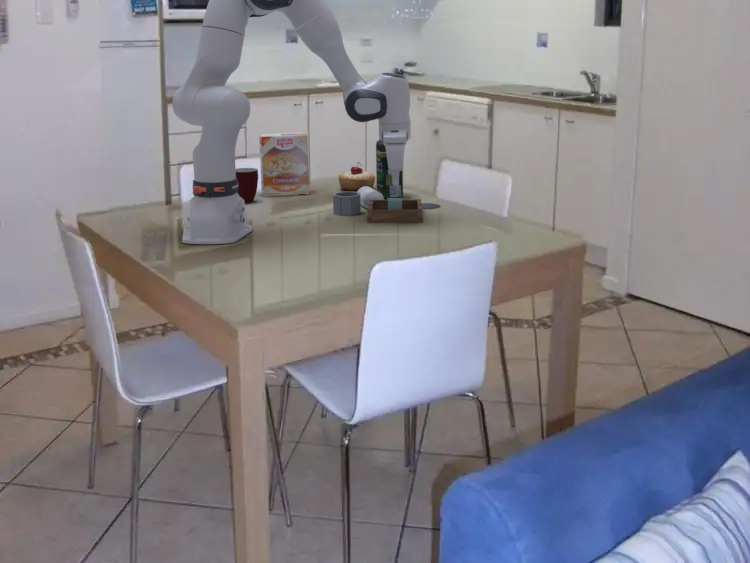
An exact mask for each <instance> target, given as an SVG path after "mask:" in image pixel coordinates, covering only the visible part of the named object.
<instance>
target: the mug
mask: <svg viewBox="0 0 750 563" xmlns="http://www.w3.org/2000/svg"><path fill="white" fill-rule="evenodd" d="M235 169H236V178H237V179H238V192H237V193H238V194H239V196H240V197H241V198H242V199H243V200H244V202H245V204H249V203H252V202H254V200H255V198H256V195H257V191H258V184H259V183H258V182H259V171H258V170H259V169H258V168H255V167H240V168H239V167H238V168H235Z"/></svg>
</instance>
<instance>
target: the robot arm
mask: <svg viewBox="0 0 750 563" xmlns="http://www.w3.org/2000/svg"><path fill="white" fill-rule="evenodd" d="M275 11H276V12H281V13H282V14H283V15H285V16H286V17H287V19H288V20H289V21H290V23H291V25H292V27H293V29H294V30H295V32H296V34H297V36H298V37H299V38H300V40H301V41H302V42H303V44H304V45H305V46H306V47H307V48H308V50H309V51H311V52H312V54H314V55H316V56H317V57H318V58H320V59H321V60H322V61H324V63H325V64H326V66H327V67H328V68H329V70H330V72H331V74H332V75H333V77H334V78H335V80H336V81H337V84H338V85H339V86H340V89H341V92H342V96H343V105H344V109H345V112H346V114H347V116H348V117H349V118H351V119H352V120H353V121H355V122H358V123H368V122H370V121H375V120H378V140H382V141H383V143H384V145H385V147H386V154H387V162H388V168H389V171H392V184H393V185H399V171H402V172H403V165H404V155H405V146H407V142H408V141H409V140H411V138H412V137H411V136H412V135H411V132H412V131H411V127H412V126H411V116H410V108H411V93H410V92H411V91H410V86H409V81H408V80H407V78H406V77H404V76H403V75H401V74H397V73H393V72H392V73H391V72H383V73H382V72H381V73H380V75H379V76H376V77H375V78H374V79H371V80H370V81H369V82H366V80H364V79H363V78H362V76H361V75H360V74H359V72H358V71H357V68H356V67H355V65H354V64H353V62H352V60H351V59H350V57H349V55H348V53H347V51H346V48H345V46H344V41H343V35H342V32H341V28H340V25H339V24H338V20H337V18H336V16H335V15H334V12H333V11H332V8H331V7H330V5H329V4H328V2H327V0H208V3H207V6H206V9H205V13H204V16H203V21H202V26H201V32H200V36H199V42H198V48H197V53H196V55H195V56H196V57H195V60H194V63H193V66H192V68H191V69H190V71H189V74H188V75H187V78H186V80H185V81H184V83H183V84H182V85H181V86H180V87H179V88H178V89H177V90H176V91H175V93H173V94H174V95H173V97H172V103H171V106H172V110H173V112H174V114H175V116H176V117H177V118H178V119H179V120H181V121H183V122H185V123H187V124H190V125H192V126H197V127H201V136H200V139H199V142H198V144H197V145H196V146H194V148H193V150H192V165H193V178H194V179H193V180H192V195H193V197H191V199H190V200H189V203H190V205H189V206H190V207H189V208H190V209H189V216H187V222H189V225H186V226H184V227H183V232H182V239H181V240H182V241H181V242H182V243H183V244H192V245H221V244H222V245H223V244H225V245H226V244H231V243H235V242H238V241H239V240H241V239H242V238H244V237H245V236H246V235H248V234H249V233H252V232H253V230H254V227H253V225H249V224H247V213H246V203H245V202H244V200H243V199H242V198H241V197H240V196H239V194H238V193H237V192H238V179H237V178H236V169H237V168H236V145H237V141H238V137H239V133H240V131H241V129H242V127H243V126H244V124H245V123H246V122H247V121H248V119H249V118H250V114H251V102H250V100H249V98H248V97H247V95H246V94H245V93H244V92H242V91H241V90H239V89H236V88H235V87H232V86H229V85H226V83H227V81H228V80H229V79H230V76H231V75H232V74H233V73H234V72H235V71H236V70H237V69H238V68H239V66H240V64H241V57H242V52H243V46H244V40H245V33H246V28H247V23H248V20H249V18H260V17H264V16H267V15H270V14H272V13H274V12H275Z"/></svg>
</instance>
